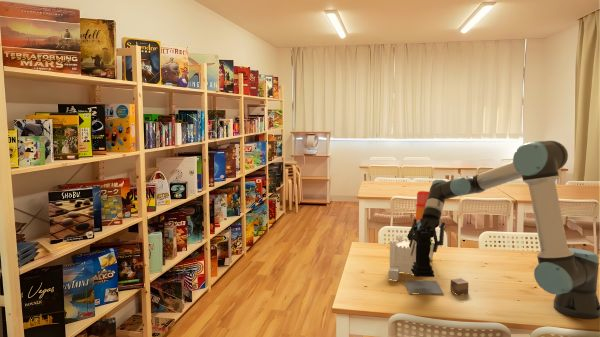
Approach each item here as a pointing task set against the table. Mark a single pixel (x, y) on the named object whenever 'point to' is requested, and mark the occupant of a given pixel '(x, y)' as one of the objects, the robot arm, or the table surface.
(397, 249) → the castle model
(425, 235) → the chess piece
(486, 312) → the table surface
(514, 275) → the table surface
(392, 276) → the grey plastic box
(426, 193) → the stacking cups
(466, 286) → the walnut cube
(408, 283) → the felt mat
